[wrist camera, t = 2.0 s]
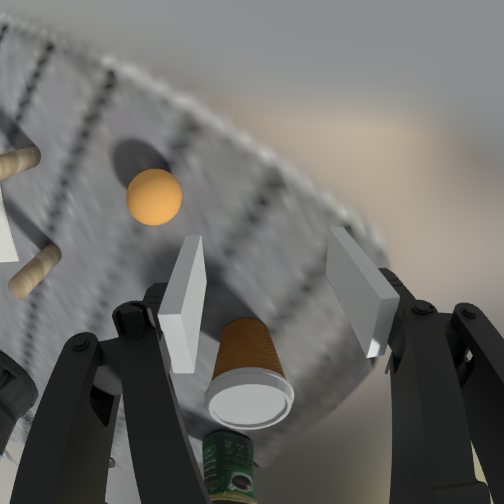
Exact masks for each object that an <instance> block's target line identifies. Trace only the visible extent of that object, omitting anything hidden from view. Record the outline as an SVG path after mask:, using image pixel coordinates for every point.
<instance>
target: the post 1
mask: <svg viewBox="0 0 504 504" xmlns="http://www.w3.org/2000/svg"><path fill="white" fill-rule="evenodd" d="M40 159H41V154H40V151H39V149H38V148H37V147H36V146H30V147H26V148H22V149H19V150H15V151H12V152H9V153H5V154H2V155H0V180H3V179H5V178H8V177H10V176H12V175H15V174H17V173H20V172H22V171H25V170H27V169H30V168H33V167H35V166H37V165H38V164H39V162H40Z"/></svg>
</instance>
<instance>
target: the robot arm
mask: <svg viewBox="0 0 504 504" xmlns="http://www.w3.org/2000/svg"><path fill="white" fill-rule="evenodd" d="M326 276H327V278H328V280H329V282H330V284H331V286H332V288H333V290H334V292H335V294H336V296H337V298H338V300H339V301H340V303H341V305H342V307H343V310H344V312H345V314H346V316H347V318H348V320H349V322H350V324H351V326H352V328H353V330H354V332H355V334H356V336H357V338H358V340H359V342H360V345H361V347H362V349H363V351H364V353H365V355H366V357H367V358H369V357H375V356H381V355H384V354H385V350H386V347H387V344H388V345H389V346H390V348H391V350H392V352H391V355H390V359H389V361H388V364H387V367H386V370H385V374H387V373H388V370H389V369H390V377H391V396H392V469H391V487H390V500H389V504H491V500H490V493H491V496H492V500H493V503H494V504H504V339H503V338H502V336H501V335H500V334H499V333H498V331H497V330H496V329H495V327H494V326H493V325H492V323H491V322H490V321H489V320H488V318H487V317H486V316H485V315H484V313H483V312H482V311H481V310H480V309H479V308H478V307H476V306H474V305H473V304H469V303H459V304H457V305H456V306H455V308H454V311H453V314H452V313H451V314H450V313H438V311H437V309H436V308H435V307H434V306H433V305H432V304H431V303H429V302H426V301H424V300H416V299H415V298H414V296H413V295H412V294H411V293H410V292H409V290H408V289H407V288H406V287H405V286H403V283H402V282H401V281H400V280H399V278H398V277H397V276H396V275H395V274H394V273H393V272H391V271H390V270H388V269H386V268H377V267H376V266H375V265H374V263H373V262H372V261H371V260H370V259H369V257H368V256H367V255H366V254H365V253H364V251H363V250H362V249H361V248H360V247H359V245H358V244H357V243H356V242H355V241H354V240H353V238H352V237H351V236H350V235H349V234H348V233H347V231H346V230H345V229H344V228H343V227H338V228H329V237H328V252H327V266H326ZM206 283H207V281H206V273H205V265H204V256H203V248H202V239H201V235H188V236H186V237H185V240H184V243H183V245H182V248H181V250H180V253H179V256H178V258H177V261H176V264H175V267H174V269H173V272H172V275H171V278H170V280H169V283H154V284H153V285H152V286H151V287H150V288H148V289H147V291H146V293H145V296H144V298H143V300H142V301H130V302H126V303H123V304H122V305H120V306H118V307H117V308H116V309H115V310H114V311H113V314H112V318H113V321H114V324H115V327H116V330H117V332H118V335H119V337H117V338H114V339H110V340H105V341H100V342H99V341H98V339H97V337H96V335H94V334H93V333H89V332H83V333H78V334H76V335H74V336H72V337H71V338H70V339H68V341H67V342H66V343H65V345H64V347H63V349H62V352H61V354H60V356H59V358H58V360H57V363H56V365H55V367H54V369H53V372H52V374H51V376H50V379H49V381H48V384H47V386H46V388H45V391H44V393H43V396H42V398H41V401H40V404H39V406H38V409H37V412H36V414H35V417H34V420H33V423H32V426H31V428H30V431H29V434H28V437H27V440H26V444H25V447H24V450H23V453H22V457H21V460H20V464H19V467H18V471H17V475H16V478H15V482H14V487H13V491H12V495H11V500H10V504H105V494H106V485H107V476H108V468H109V461H110V454H111V447H112V441H113V435H114V429H115V423H116V418H117V412H118V407H119V402H120V397H121V394H123V401H124V410H125V418H126V426H127V433H128V439H129V445H130V451H131V457H132V463H133V468H134V473H135V478H136V482H137V487H138V491H139V496H140V499H141V504H212V501H211V499H210V496H209V494H208V491H207V488H206V486H205V483H204V481H203V478H202V475H201V473H200V470H199V467H198V464H197V461H196V458H195V456H194V453H193V450H192V447H191V444H190V441H189V438H188V435H187V431H186V428H185V425H184V422H183V418H182V415H181V412H180V408H179V405H178V401H177V398H176V394H175V391H174V387H173V383H172V380H171V377H170V374H169V371H170V366H171V365H172V368H173V372H174V373H194V369H195V361H196V354H197V346H198V338H199V331H200V324H201V317H202V310H203V303H204V296H205V290H206ZM469 350H470V351H471V353H472V355H473V356H472V358H471V360H470V361H469V360H468V358H467V357H466V356H467V354H468V352H469ZM37 398H38V390H37V388H36V386H35V384H34V382H33V381H32V379H31V378H30V377H29V376H28V374H27V373H26V372H25V371H24V370H23V369H22V368H21V367H20V366H19V365H18V364H17V363H15V362H14V361H13V360H12V359H10V358H9V357H7V356H6V355H4V354H2V353H1V352H0V459H1V458H2V457H3V456H2V455H3V452H4V450H5V447H6V445H7V443H8V440H9V438H10V436H11V433H12V431H13V429H14V427H15V424H16V422H17V420H18V419H19V418H20V417H21V416H22V415H24V414H25V413H26V412H27V411H28V410H29V409H30V408H31V407H33V406H34V404H35V402H36V400H37ZM470 439H471V440H470ZM471 442H472V444H473V447H474V449H475V452H476V454H477V457H478V459H479V462H480V465H481V467H482V470H483V473H484V476H485V479H486V481H487V484H488V486H487V484H486V483H485V482H481V481H478V480H477V479H476V477H475V471H474V462H473V454H472V447H471ZM489 490H490V492H489Z"/></svg>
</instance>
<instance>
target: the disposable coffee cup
mask: <svg viewBox="0 0 504 504" xmlns="http://www.w3.org/2000/svg"><path fill="white" fill-rule="evenodd" d="M293 400H294V391H293V388H292V386H291V385H290V383H289V382H288V381H287V380H286V378H285V375H284V373H283V370H282V367H281V364H280V361H279V358H278V356H277V353H276V350H275V347H274V344H273V341H272V338H271V336H270V332H269V330H268V328H267V327H266V325H265V324H263V323H262V322H260V321H258V320H255V319H251V318H244V319H238V320H235V321H233V322H231V323H230V324H228V325H227V326H226V327H225V329H224V331H223V333H222V338H221V342H220V346H219V351H218V354H217V359H216V364H215V368H214V372H213V376H212V381H211V384H210V385H209V387H208V388H207V390H206V392H205V403H206V405H207V407H208V408H209V412H210V414H211V416H212V417H213V418H214V419H215V420H216V421H218V422H219V423H221V424H223V425H225V426H228V427H231V428H237V429H248V430H249V429H259V428H264V427H268V426H271V425H273V424H276V423H277V422H279V421H281V420H282V419H284V418H285V417H286V416H287V414H288V413H289V411H290V409H291V404H292V402H293Z"/></svg>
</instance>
